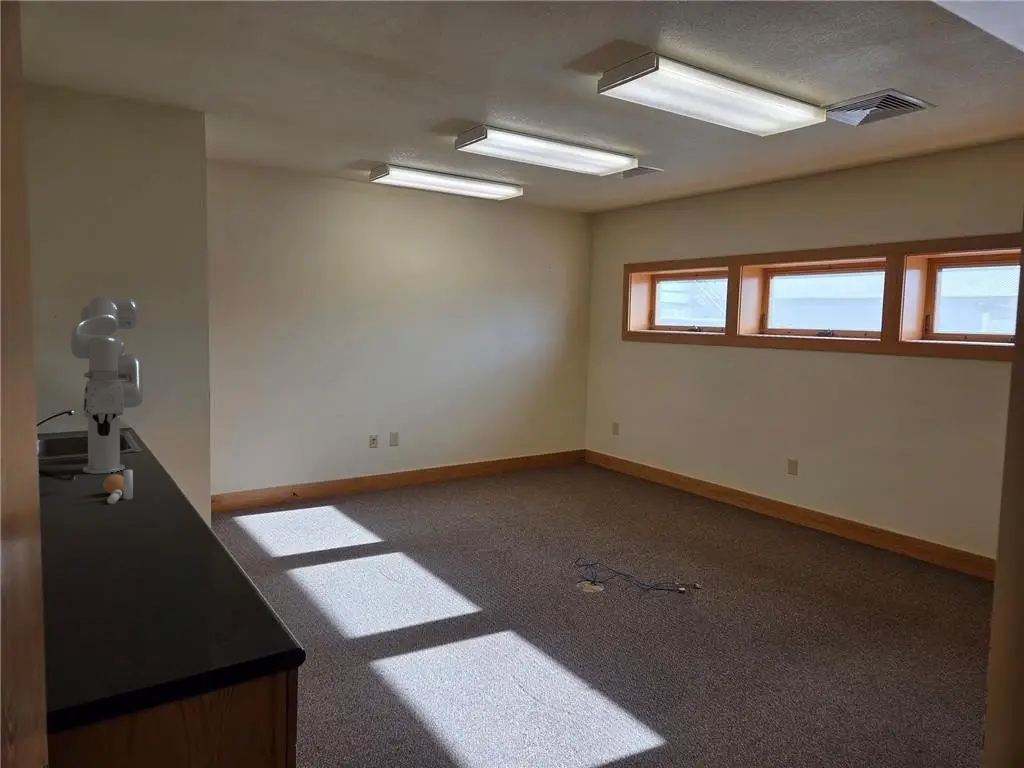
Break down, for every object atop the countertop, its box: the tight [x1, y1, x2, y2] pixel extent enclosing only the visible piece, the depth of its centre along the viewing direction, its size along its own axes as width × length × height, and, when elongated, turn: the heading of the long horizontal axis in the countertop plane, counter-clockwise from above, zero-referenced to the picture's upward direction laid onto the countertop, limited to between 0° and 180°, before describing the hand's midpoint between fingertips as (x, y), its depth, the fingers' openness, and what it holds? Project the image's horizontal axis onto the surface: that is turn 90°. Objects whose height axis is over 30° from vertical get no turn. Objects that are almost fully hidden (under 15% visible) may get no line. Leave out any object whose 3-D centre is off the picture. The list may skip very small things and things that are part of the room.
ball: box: [102, 473, 124, 495], centre depth 203 cm, size 6×6×6 cm
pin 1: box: [106, 489, 123, 505], centre depth 196 cm, size 2×2×8 cm
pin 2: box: [122, 469, 134, 501], centre depth 198 cm, size 2×2×8 cm
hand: (103, 435), depth 206 cm, fingers closed
